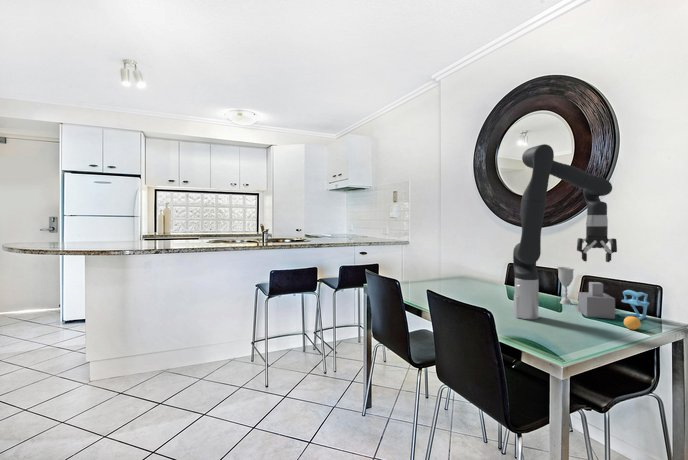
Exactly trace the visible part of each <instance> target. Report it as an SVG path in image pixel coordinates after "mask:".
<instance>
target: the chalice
mask: <svg viewBox="0 0 688 460" xmlns="http://www.w3.org/2000/svg"><path fill="white" fill-rule="evenodd" d="M574 270H575V268H574V267H569V266H568V267H567V266H566V267H565V266H558V267H557V271H558V272H557V273H558V280H559V282H560V283H561V285H562V286H563V287H564V289H563V295H564V297H563V298H561V300H560V302H559V303H560V304H562V305H569V304H570V305H572V302H571V299H570V298H568V287H570V285H571V283H572V282H573V279H574Z"/></svg>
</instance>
